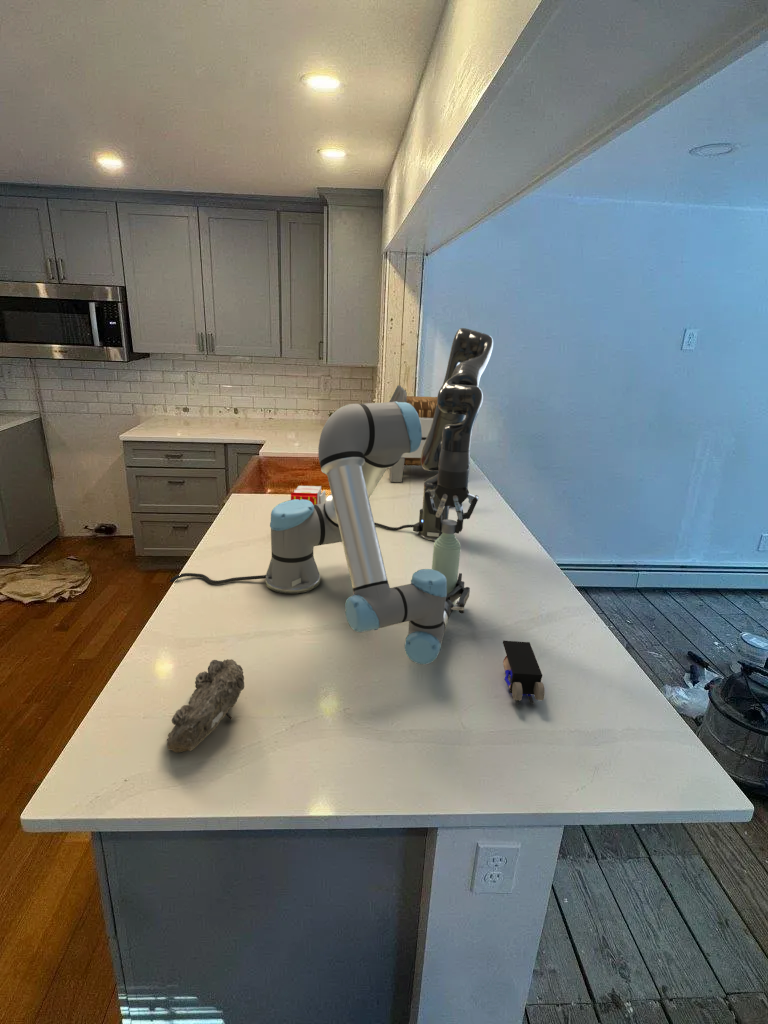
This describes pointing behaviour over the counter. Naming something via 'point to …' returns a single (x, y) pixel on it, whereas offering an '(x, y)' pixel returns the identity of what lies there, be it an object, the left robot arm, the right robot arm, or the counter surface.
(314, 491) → the toy
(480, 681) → the counter surface
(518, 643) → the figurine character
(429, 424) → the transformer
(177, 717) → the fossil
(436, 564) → the bottle
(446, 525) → the cap
